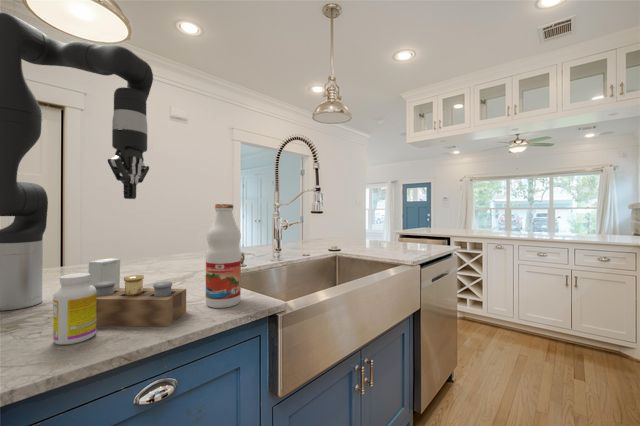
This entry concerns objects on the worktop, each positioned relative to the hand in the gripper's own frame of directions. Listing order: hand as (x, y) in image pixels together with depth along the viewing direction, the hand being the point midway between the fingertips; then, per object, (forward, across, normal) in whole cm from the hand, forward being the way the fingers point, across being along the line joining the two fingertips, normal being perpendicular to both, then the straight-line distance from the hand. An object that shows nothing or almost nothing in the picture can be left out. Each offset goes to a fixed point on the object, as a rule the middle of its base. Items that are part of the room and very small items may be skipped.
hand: (129, 198), depth 73 cm
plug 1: (+28, +5, -2) cm, 28 cm away
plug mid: (+26, +5, +5) cm, 27 cm away
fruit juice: (+29, -7, +22) cm, 37 cm away
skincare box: (+29, -6, -11) cm, 32 cm away
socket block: (+29, +5, +4) cm, 30 cm away
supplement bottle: (+29, +16, 0) cm, 33 cm away
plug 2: (+28, +5, +12) cm, 30 cm away
